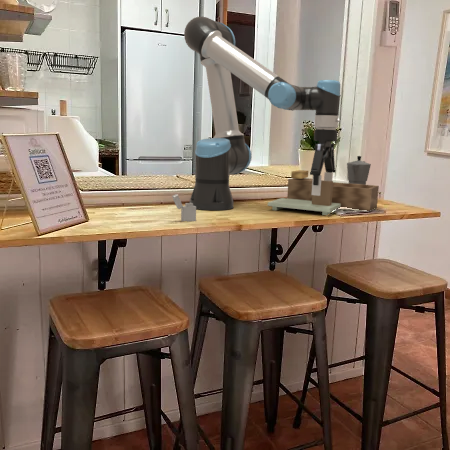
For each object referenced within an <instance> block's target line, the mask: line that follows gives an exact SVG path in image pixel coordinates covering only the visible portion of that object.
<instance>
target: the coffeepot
mask: <svg viewBox="0 0 450 450" xmlns="http://www.w3.org/2000/svg"><path fill="white" fill-rule="evenodd" d="M361 159H362V156H360V155H358V156H357V159H356V160H353V161H350V162H346V168H347V169H346V171H347V180H348V183H349V184H363V185H367V181H368V178H369V175H370V169H371V163H368V162H366V161H365V160H364V161H362V160H361Z"/></svg>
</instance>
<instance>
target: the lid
mask: <svg viewBox="0 0 450 450" xmlns="http://www.w3.org/2000/svg"><path fill="white" fill-rule="evenodd" d="M333 182H334V181H333V180H332V181H324V179H323V180H322V179H321V192H320V196H317V195H312V201H308V200H298V199H287V197H286V198H284V197H281V198H277V199H274V200H271V201H268V202H267V207H272V208H271V210H272V211H279V210H282V209H293V210H295V209H297V210H304V211H305V210H306V211H314V212H322V213H321V214H322V216H323V215H328V214H330V213H331V212H332V211H333V210H335V209H336V210H338V209H337V208H340V207H341V204H340V203H332V191H333ZM330 215H331V214H330ZM328 216H329V215H328Z"/></svg>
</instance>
